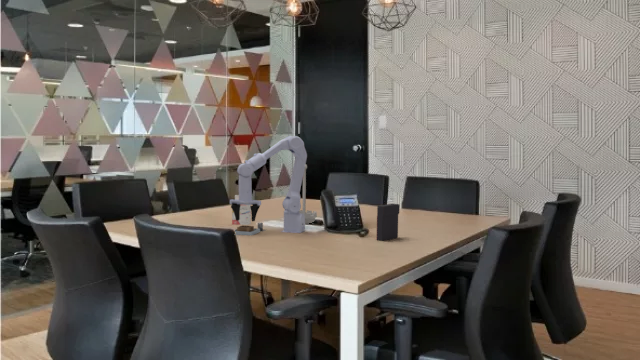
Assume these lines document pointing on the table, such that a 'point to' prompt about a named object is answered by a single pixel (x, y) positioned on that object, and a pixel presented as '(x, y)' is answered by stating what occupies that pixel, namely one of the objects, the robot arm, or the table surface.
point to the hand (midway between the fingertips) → (245, 220)
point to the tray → (247, 232)
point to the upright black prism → (387, 221)
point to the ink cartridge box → (242, 214)
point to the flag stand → (309, 215)
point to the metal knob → (261, 227)
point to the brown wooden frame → (245, 228)
